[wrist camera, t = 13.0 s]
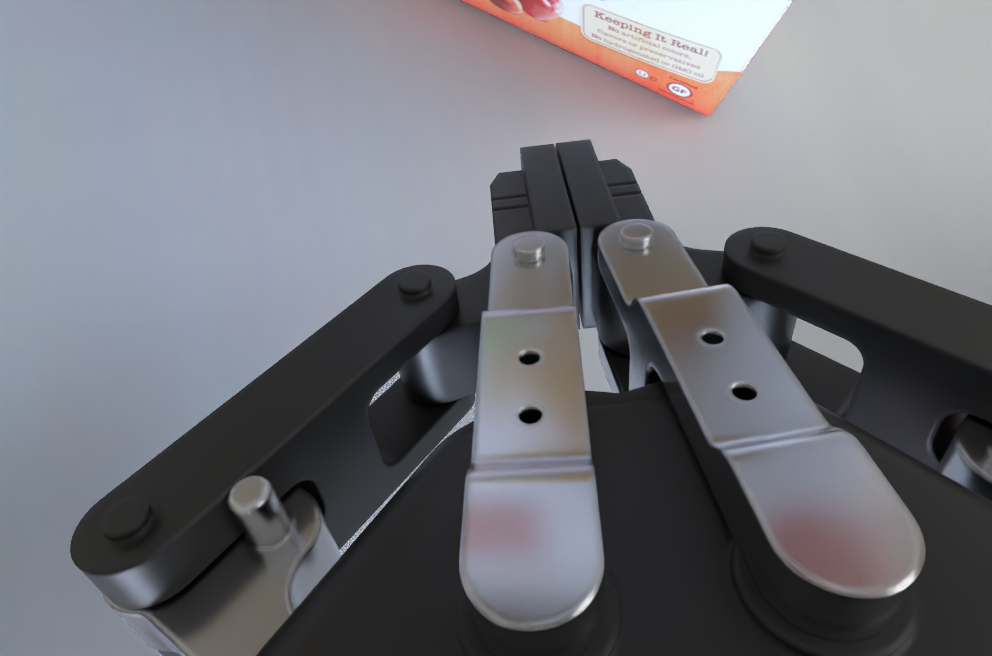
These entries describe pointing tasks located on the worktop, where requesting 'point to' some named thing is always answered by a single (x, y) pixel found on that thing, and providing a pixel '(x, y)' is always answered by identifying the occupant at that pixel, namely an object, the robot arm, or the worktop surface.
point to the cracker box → (654, 39)
